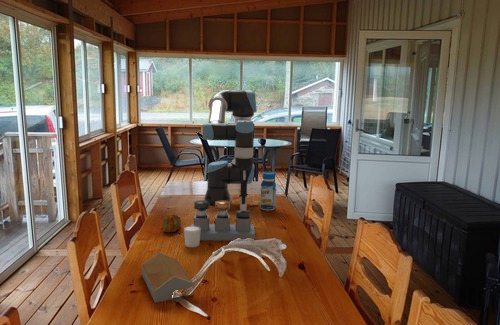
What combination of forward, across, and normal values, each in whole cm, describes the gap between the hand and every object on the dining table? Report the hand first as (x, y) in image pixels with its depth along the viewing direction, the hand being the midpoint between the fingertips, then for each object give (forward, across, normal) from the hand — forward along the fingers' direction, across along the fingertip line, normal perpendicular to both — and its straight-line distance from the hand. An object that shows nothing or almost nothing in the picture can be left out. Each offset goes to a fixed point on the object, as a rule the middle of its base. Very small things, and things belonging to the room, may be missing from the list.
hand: (243, 210), depth 169 cm
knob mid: (+4, 0, -9) cm, 10 cm away
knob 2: (+8, 0, 0) cm, 8 cm away
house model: (+12, +45, -26) cm, 53 cm away
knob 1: (+4, 0, -18) cm, 18 cm away
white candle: (+12, +11, -21) cm, 26 cm away
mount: (+11, 0, -9) cm, 14 cm away
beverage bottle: (+11, -42, +15) cm, 46 cm away
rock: (+12, -8, -32) cm, 35 cm away
